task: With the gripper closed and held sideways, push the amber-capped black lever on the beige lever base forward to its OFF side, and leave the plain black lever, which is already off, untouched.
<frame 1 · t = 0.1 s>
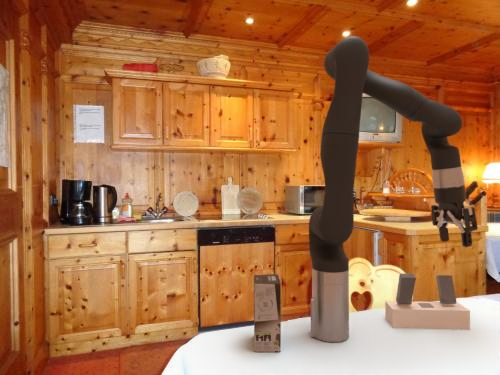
hand: (455, 243, 101), 22 cm above the table, tool pointing down, fingers open, 8 cm apart
coffee box: (267, 344, 91), on the table
lever left: (405, 289, 101), point 10 cm above the table, hinge at 22.0°
lever right: (445, 286, 104), point 10 cm above the table, hinge at -22.0°
beige lever base: (425, 323, 103), on the table
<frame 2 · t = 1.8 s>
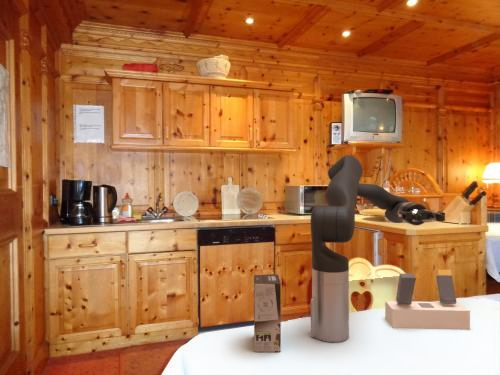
hand: (431, 218, 113), 28 cm above the table, tool horizontal, fingers open, 5 cm apart
nothing on the table moved.
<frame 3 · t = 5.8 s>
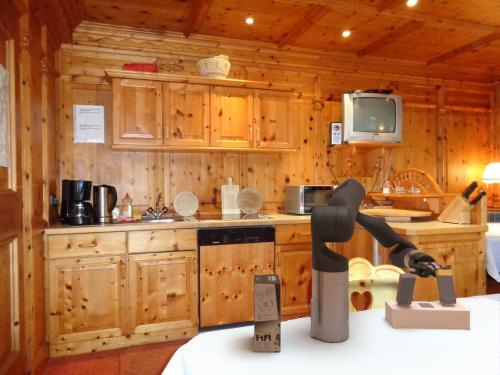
hand: (443, 276, 105), 12 cm above the table, tool horizontal, fingers closed
lever right: (445, 286, 104), point 10 cm above the table, hinge at -20.8°, touching gripper
everything else where it was.
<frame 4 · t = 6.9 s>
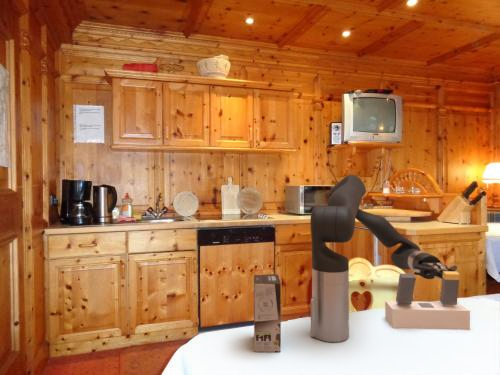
hand: (449, 277, 101), 13 cm above the table, tool horizontal, fingers closed
lever right: (449, 288, 101), point 10 cm above the table, hinge at 11.1°, touching gripper
everything else where it was.
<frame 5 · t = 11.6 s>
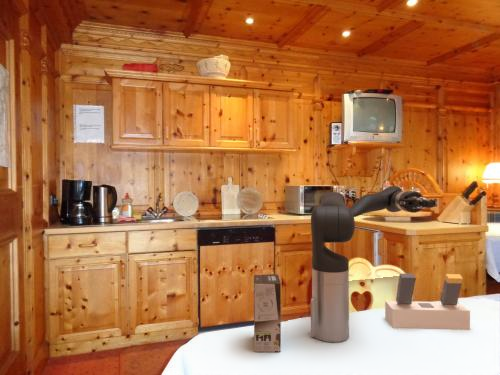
hand: (429, 204, 117), 32 cm above the table, tool horizontal, fingers closed
lever right: (451, 290, 100), point 10 cm above the table, hinge at 22.2°
everything else where it was.
at the end: lever right at +22° (first picture: -22°); lever left at +22° (first picture: +22°) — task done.
